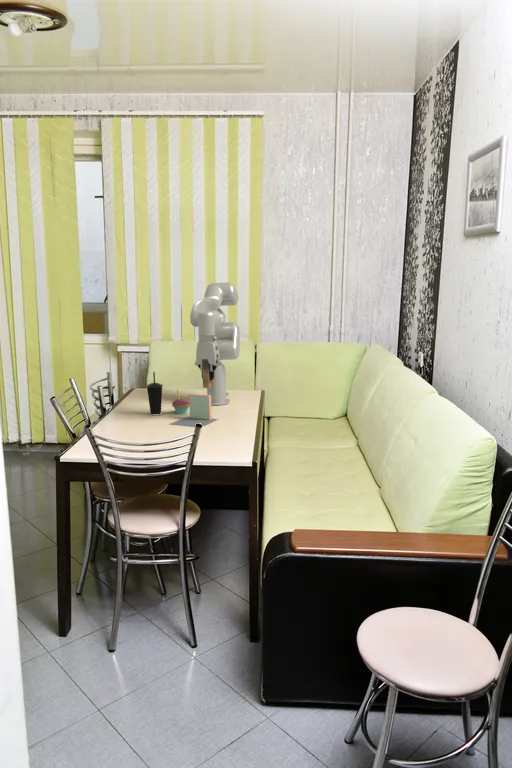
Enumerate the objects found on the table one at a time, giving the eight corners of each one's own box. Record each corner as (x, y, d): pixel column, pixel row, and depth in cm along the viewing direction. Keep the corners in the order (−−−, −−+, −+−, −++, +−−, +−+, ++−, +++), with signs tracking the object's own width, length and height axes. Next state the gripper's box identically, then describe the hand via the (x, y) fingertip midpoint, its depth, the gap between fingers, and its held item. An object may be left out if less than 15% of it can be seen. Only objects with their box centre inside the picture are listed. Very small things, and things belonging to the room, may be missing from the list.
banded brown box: (207, 386, 286) (206, 355, 283) (213, 386, 285) (213, 356, 282) (202, 387, 282) (201, 357, 279) (208, 388, 280) (208, 357, 278)
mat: (187, 417, 284) (187, 416, 284) (218, 420, 278) (218, 419, 277) (168, 425, 270) (168, 424, 270) (200, 429, 263) (200, 427, 263)
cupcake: (181, 416, 287) (180, 390, 284) (168, 414, 292) (167, 389, 289) (194, 412, 293) (193, 387, 291) (181, 410, 298) (180, 386, 296)
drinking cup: (161, 411, 297) (159, 370, 294) (165, 414, 290) (163, 372, 287) (146, 412, 295) (143, 371, 291) (149, 416, 288) (147, 373, 284)
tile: (192, 417, 282) (191, 393, 280) (211, 419, 278) (210, 395, 276) (189, 418, 280) (188, 394, 278) (209, 420, 276) (208, 396, 274)
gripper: (226, 339, 279) (227, 379, 283) (195, 338, 286) (196, 377, 289) (219, 340, 273) (220, 381, 276) (187, 339, 279) (188, 379, 283)
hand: (208, 379), depth 283 cm, fingers closed on banded brown box, 3 cm apart
